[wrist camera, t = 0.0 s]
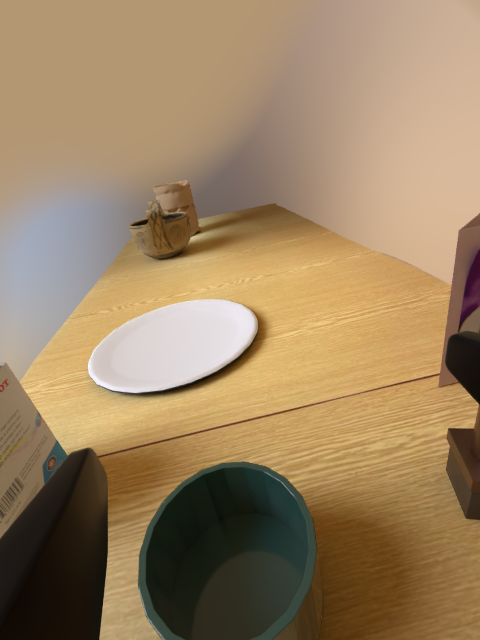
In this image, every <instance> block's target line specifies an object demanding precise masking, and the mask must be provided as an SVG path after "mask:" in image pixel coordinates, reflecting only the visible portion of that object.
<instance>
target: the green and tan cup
mask: <svg viewBox="0 0 480 640" xmlns="http://www.w3.org/2000/svg"><path fill="white" fill-rule="evenodd" d="M138 588H139V592H140V595H141V599H142V603H143V606H144V610H145V613H146V617H147V619H148V620H149V622H150V623H151V625H152V626H153V628H154V629H155V631H156V632H157V634H158V635H159V637H160V638H161V640H317V639H318V636H319V631H320V627H321V621H322V612H323V593H322V585H321V577H320V569H319V561H318V553H317V545H316V537H315V529H314V522H313V519H312V516H311V514H310V512H309V510H308V508H307V506H306V503H305V501H304V499H303V497H302V495H301V494H300V493H299V492H298V491H297V490H296V489H295V488H294V486H293V485H292V484H291V483H290V482H289V481H288V480H287V479H286V478H285V477H283V476H282V475H280V474H278V473H277V472H275V471H273V470H271V469H270V468H268V467H266V466H262V465H258V464H253V463H249V462H230V463H221V464H218V465H215V466H212V467H209V468H206V469H203V470H201V471H199V472H198V473H196V474H194V475H193V476H191V477H190V478H188V479H187V480H185V481H183V482H182V483H181V484H180V485H179V486H178V487H177V488H176V489H175V490H174V491H173V492H172V493H171V494H170V495H169V496H168V497H167V498H166V499H165V500H164V501H163V502H162V504H161V505H160V507H159V509H158V510H157V512H156V514H155V515H154V517H153V519H152V520H151V522H150V524H149V526H148V528H147V531H146V534H145V538H144V541H143V544H142V547H141V551H140V555H139V574H138Z"/></svg>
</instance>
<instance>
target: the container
mask: <svg viewBox="0 0 480 640" xmlns="http://www.w3.org/2000/svg"><path fill="white" fill-rule="evenodd" d="M189 187H190V185H189V182H187V181H186V180H185V181H179V182H174V183H169V184H164V185H161V186H156V187H154V188H153V189H154V192H155V194H156V199H157V200H159V202H160V206H161V209H162V211H163V212H164V213H166V214H167V213H173V212H186V213H187V216H188V219H189V222H190V228H191V236H193V235H195V233H196V232H200V227H199V226H198V225H199V223H198V219H197V215H196V210H195V206H194V202H193V197H192V193H191V190H190V188H189Z"/></svg>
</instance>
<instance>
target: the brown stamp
mask: <svg viewBox="0 0 480 640" xmlns="http://www.w3.org/2000/svg"><path fill="white" fill-rule="evenodd" d="M447 440H448V443H449V445H450V449H449V455H448V461H447V467H446V471H447V473H448V476H449V478H450V481H451V483H452V485H453V488H454V490H455V493H456V495H457V498H458V500H459V503H460V505H461V508H462V510H463V512H464V515H465V517H466V519H477V520H480V405H479V408H478V413H477V417H476V422H475V427H474V429H459V428H448V433H447Z"/></svg>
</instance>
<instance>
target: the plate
mask: <svg viewBox="0 0 480 640" xmlns="http://www.w3.org/2000/svg"><path fill="white" fill-rule="evenodd" d="M257 333H258V320H257V318H256V316H255V314H254V313H253V311H251V310H250V309H248V308H247V307H245V306H244V305H242V304H239V303H236V302H233V301H228V300H219V299H201V300H193V301H186V302H180V303H176V304H172V305H168V306H164V307H161V308H158V309H155V310H153V311H150V312H147V313H145V314H143V315H141V316H138V317H136V318H134V319H132V320H130V321H128V322H127V323H125V324H123V325H122V326H120V327H118V328H117V329H115V330H114V331H113V332H112V333H110V334H109V335H108V336H107V337H105V338H104V339H103V340H102V341H101V342H100V344H99V345H98V346H97V347H96V348H95V350H94V351H93V353H92V355H91V358H90V360H89V362H88V369H89V375H90V377H91V378H92V379H93V380H94V381H95V383H96V384H97V385H98V386H101V387H103V388H105V389H108V390H110V391H113V392H120V393H130V394H142V393H151V392H161V391H166V390H170V389H174V388H177V387H181V386H185V385H189V384H192V383H194V382H196V381H199V380H201V379H203V378H205V377H208V376H210V375H212V374H215V373H217V372H218V371H220V370H221V369H223V368H224V367H226V366H227V365H229V364H230V363H232V362H233V361H235V360H237V359H238V358H239V357H240V356H241V355H242V354H243V353H244V352H245V351H246V350H247V349H248V348H249V347H250V346H251V344H252V342H253V340H254V338H255V336H256V335H257Z"/></svg>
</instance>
